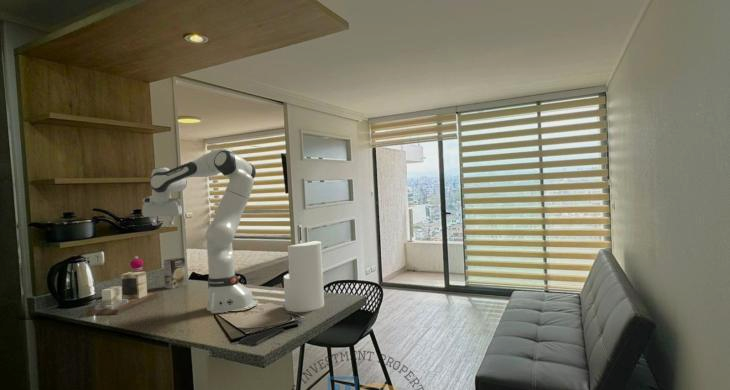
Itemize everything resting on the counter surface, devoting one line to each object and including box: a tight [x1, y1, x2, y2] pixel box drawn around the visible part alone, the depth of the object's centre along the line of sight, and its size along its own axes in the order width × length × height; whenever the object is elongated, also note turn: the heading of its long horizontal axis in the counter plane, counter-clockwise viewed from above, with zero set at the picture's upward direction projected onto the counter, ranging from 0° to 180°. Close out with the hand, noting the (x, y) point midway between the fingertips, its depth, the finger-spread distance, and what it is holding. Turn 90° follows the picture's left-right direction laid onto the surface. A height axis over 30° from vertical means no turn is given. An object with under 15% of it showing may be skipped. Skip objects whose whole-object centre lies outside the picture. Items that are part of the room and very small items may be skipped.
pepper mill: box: [129, 255, 144, 272], centre depth 210 cm, size 7×7×20 cm
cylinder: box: [283, 240, 325, 313], centre depth 170 cm, size 17×17×28 cm
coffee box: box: [163, 257, 186, 290], centre depth 220 cm, size 9×6×16 cm
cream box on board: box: [86, 271, 159, 315], centre depth 185 cm, size 15×28×14 cm, turn 174°
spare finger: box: [101, 285, 122, 305], centre depth 178 cm, size 7×4×8 cm, turn 174°
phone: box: [239, 326, 285, 347], centre depth 135 cm, size 8×1×15 cm
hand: (163, 225), depth 200 cm, fingers open, 8 cm apart
